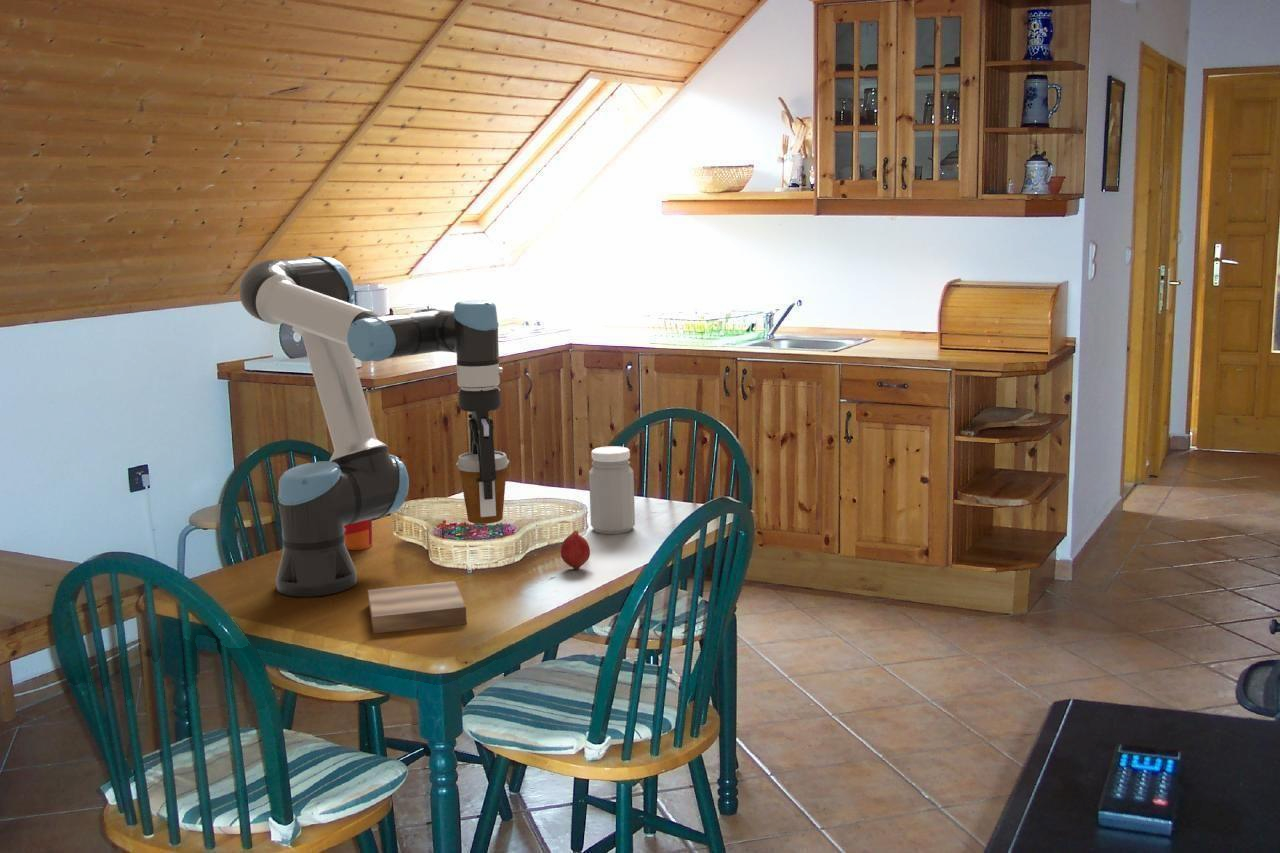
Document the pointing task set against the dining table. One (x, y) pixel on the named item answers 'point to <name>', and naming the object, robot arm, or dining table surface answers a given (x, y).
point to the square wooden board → (416, 607)
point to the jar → (611, 490)
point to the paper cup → (358, 535)
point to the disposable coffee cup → (469, 474)
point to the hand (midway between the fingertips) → (484, 510)
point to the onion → (575, 550)
